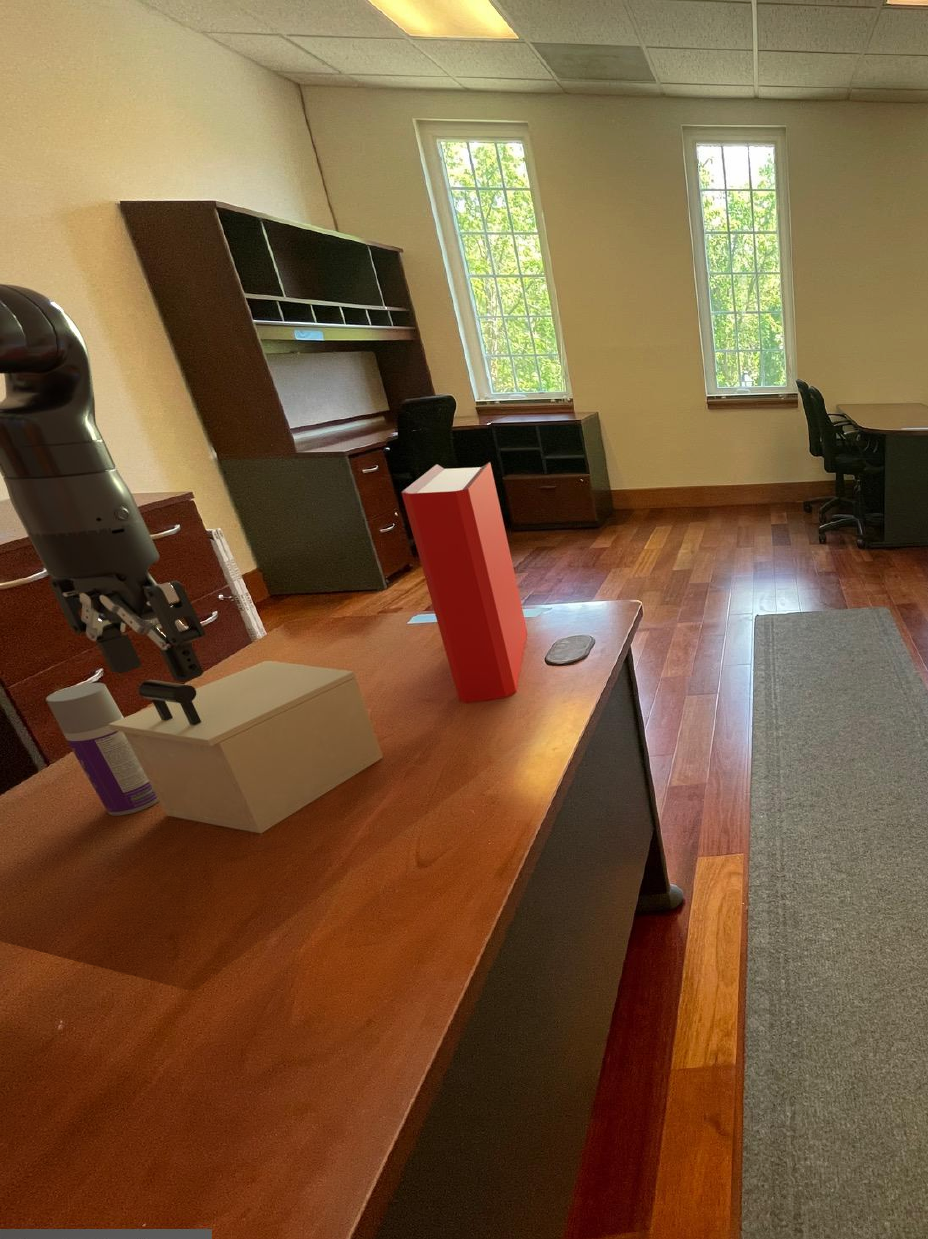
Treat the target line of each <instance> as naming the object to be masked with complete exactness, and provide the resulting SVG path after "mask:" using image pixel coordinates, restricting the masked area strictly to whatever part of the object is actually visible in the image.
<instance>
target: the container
mask: <svg viewBox="0 0 928 1239" xmlns="http://www.w3.org/2000/svg"><path fill="white" fill-rule="evenodd" d="M45 701H46V703H47V705H48V707H49V708H50V710H51V713H52V715H53V716H54V718H55V720H56V722H57V724H58V726H59V728H60V730H61V732H62V734H63V736H64V738H65V740H66V742H67V743H68V745H69V747H70V749H71V751H72V752H73V753H74V756H75V757H76V759H77V761H78V763H79V765H80V767H81V768H82V770H83V771H84V773H85V775H86V777H87V779H88V780H89V782H90V784H91V786H92V788H93V789H94V791H95V793H96V794H97V796H98V798H99V799H100V802H101V804H102V805H103V807H104V808H105V810H106V812H107V813H108V815H110V816H114V817H115V816H125V815H130V814H135V813H138V812H140V811H143V810H146V809H148V808H150V807H152V806H153V805H155V804H157V803H159V802H160V801H159V800H158V798H157V796H156V794H155V792H154V790H153V788H152V786H151V784H150V782H149V780H148V779H147V777H146V775H145V773H144V771H143V769H142V767H141V765H140V763H139V761H138V759H137V758H136V756H135V754H134V752H133V750H132V748H131V746H130V744H129V742H128V740H127V738H126V737H125V735H124V733H123V732H119V731H113V730H111V729H110V727H109V725H108V724H110V723H112V722H115V721H117V720H120V719H122V718H125V716H123V714H122V712H121V711H120V708H119V707H118V705H117V703H116V701H115V700H114V698H113V696H112V694H111V692H110V690H109V689H108V687H107V685H106V684H105V683H102V682H88V683H82V684H77V685H73V686H69V687H65V688H63V689H60V690H57V691H55V692H53V693H51V694H48V696H46V698H45Z"/></svg>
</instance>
